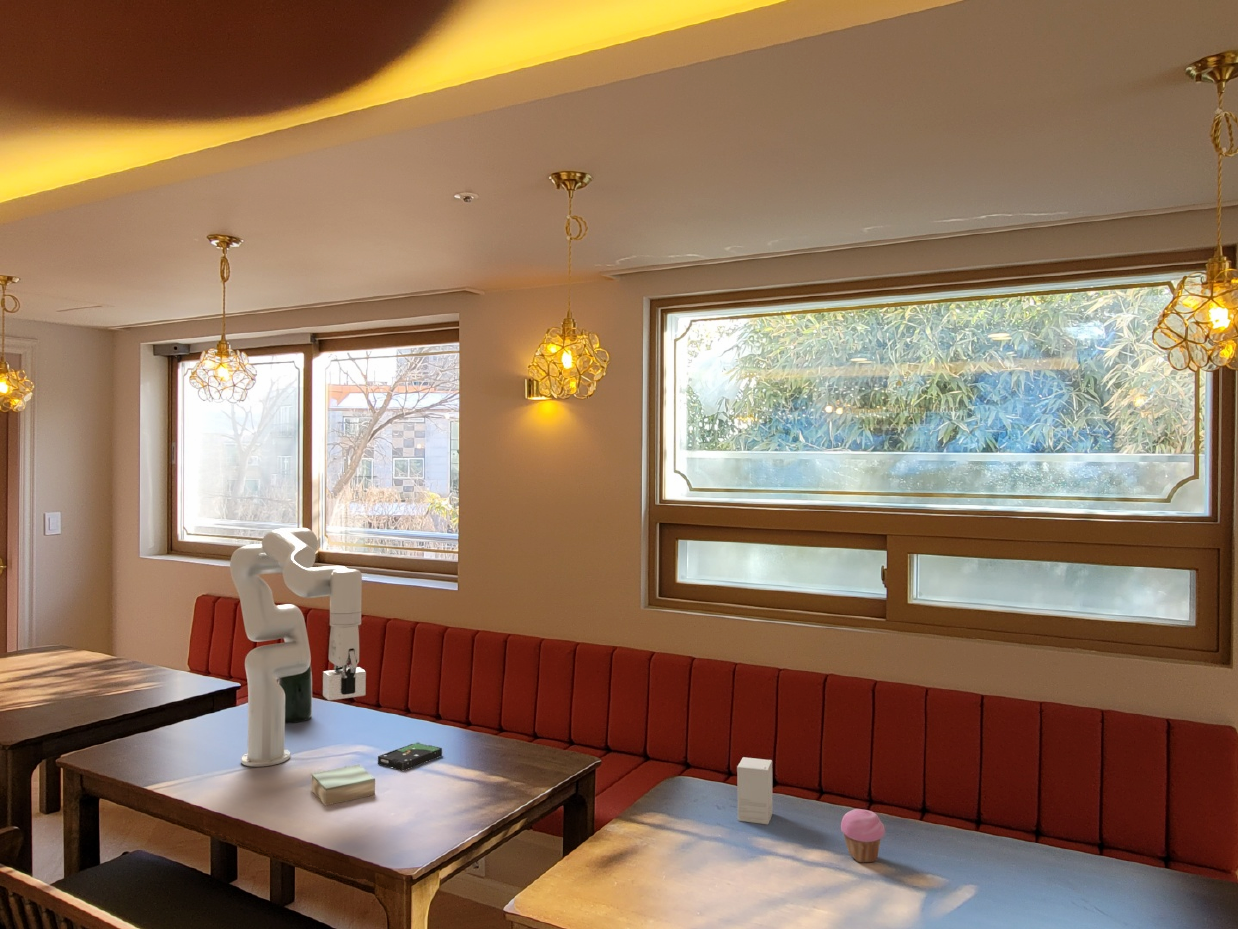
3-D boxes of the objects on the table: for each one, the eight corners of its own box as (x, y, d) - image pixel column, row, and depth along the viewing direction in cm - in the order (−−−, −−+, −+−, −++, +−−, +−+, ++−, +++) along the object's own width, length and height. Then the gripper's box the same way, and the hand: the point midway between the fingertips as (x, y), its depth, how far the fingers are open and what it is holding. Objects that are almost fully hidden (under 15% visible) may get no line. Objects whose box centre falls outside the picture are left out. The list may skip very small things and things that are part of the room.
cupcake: (892, 866, 169) (893, 816, 169) (855, 871, 166) (856, 821, 166) (868, 847, 177) (868, 800, 177) (832, 852, 175) (832, 804, 175)
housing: (358, 690, 211) (359, 667, 211) (365, 695, 206) (365, 671, 206) (322, 695, 206) (323, 671, 206) (328, 700, 201) (329, 675, 201)
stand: (311, 790, 207) (311, 774, 207) (358, 780, 214) (359, 764, 214) (325, 805, 197) (326, 788, 197) (374, 794, 204) (375, 778, 204)
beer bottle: (318, 715, 272) (319, 615, 272) (299, 724, 262) (300, 620, 262) (290, 713, 274) (292, 614, 275) (270, 722, 264) (272, 619, 265)
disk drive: (403, 773, 221) (442, 757, 234) (403, 763, 221) (442, 747, 234) (377, 766, 226) (416, 750, 239) (377, 756, 226) (416, 741, 239)
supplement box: (773, 813, 195) (773, 759, 195) (768, 825, 188) (768, 770, 188) (742, 809, 197) (742, 756, 198) (736, 821, 190) (736, 766, 191)
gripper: (320, 615, 211) (319, 686, 211) (341, 625, 197) (340, 701, 197) (349, 612, 216) (348, 682, 215) (372, 622, 202) (370, 696, 201)
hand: (344, 690), depth 206 cm, fingers closed on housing, 5 cm apart
